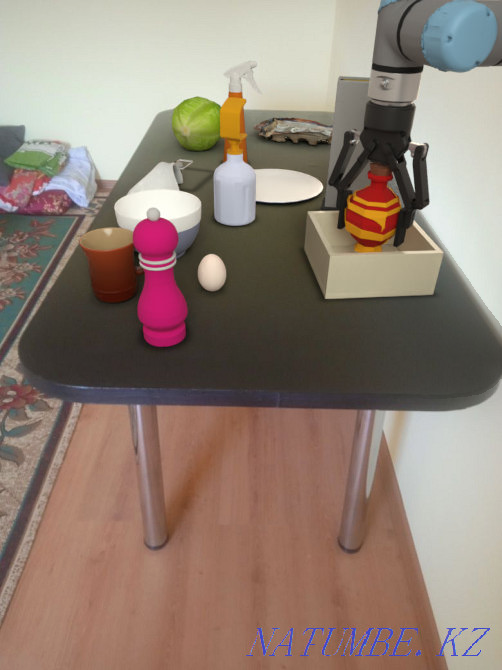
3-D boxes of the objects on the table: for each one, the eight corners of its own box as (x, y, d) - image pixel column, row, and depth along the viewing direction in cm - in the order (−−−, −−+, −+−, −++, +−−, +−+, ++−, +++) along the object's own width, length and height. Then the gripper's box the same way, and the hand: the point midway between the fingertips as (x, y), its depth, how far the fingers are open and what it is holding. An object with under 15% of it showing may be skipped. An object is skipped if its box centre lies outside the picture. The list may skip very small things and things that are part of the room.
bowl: (120, 273, 93) (113, 223, 88) (120, 236, 106) (114, 191, 100) (208, 266, 96) (206, 217, 90) (198, 231, 108) (196, 187, 103)
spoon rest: (173, 222, 112) (171, 190, 108) (121, 218, 114) (116, 187, 109) (196, 184, 131) (194, 156, 127) (151, 182, 133) (148, 153, 128)
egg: (232, 290, 89) (232, 255, 85) (210, 300, 86) (209, 264, 82) (214, 280, 92) (213, 245, 88) (192, 289, 89) (190, 254, 85)
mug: (92, 312, 82) (81, 253, 77) (86, 286, 89) (76, 230, 83) (166, 299, 86) (161, 243, 80) (155, 275, 93) (150, 222, 87)
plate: (210, 178, 136) (210, 174, 136) (294, 168, 145) (295, 164, 144) (247, 212, 118) (247, 207, 117) (341, 198, 126) (342, 193, 125)
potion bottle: (404, 245, 94) (422, 163, 86) (385, 267, 87) (401, 180, 79) (351, 232, 99) (363, 152, 90) (328, 251, 92) (338, 167, 83)
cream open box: (433, 294, 89) (443, 252, 84) (325, 299, 87) (330, 256, 82) (396, 246, 104) (403, 209, 100) (304, 249, 102) (307, 211, 98)
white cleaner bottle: (260, 214, 117) (264, 97, 103) (246, 229, 110) (248, 105, 96) (224, 208, 119) (222, 93, 105) (208, 223, 112) (204, 101, 98)
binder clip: (183, 183, 133) (182, 162, 130) (169, 181, 134) (168, 160, 131) (193, 175, 138) (192, 155, 135) (179, 174, 139) (178, 153, 136)
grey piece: (245, 142, 165) (246, 125, 162) (262, 127, 182) (262, 110, 179) (339, 151, 159) (341, 133, 156) (347, 134, 176) (349, 117, 173)
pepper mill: (136, 326, 79) (119, 201, 68) (182, 318, 81) (173, 195, 70) (145, 353, 74) (129, 222, 62) (194, 343, 76) (187, 214, 64)
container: (323, 217, 122) (311, 79, 106) (404, 211, 118) (405, 65, 101) (321, 230, 116) (308, 85, 100) (406, 224, 112) (408, 71, 95)
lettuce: (215, 157, 148) (165, 159, 153) (238, 138, 166) (193, 140, 171) (207, 103, 140) (155, 107, 145) (232, 88, 158) (185, 92, 163)
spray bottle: (255, 169, 143) (258, 63, 128) (219, 165, 146) (217, 60, 131) (263, 162, 149) (266, 59, 134) (227, 158, 151) (227, 57, 136)
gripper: (315, 93, 82) (304, 224, 95) (455, 117, 71) (421, 262, 83) (339, 87, 87) (326, 212, 100) (474, 108, 75) (439, 246, 88)
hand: (369, 235), depth 92 cm, fingers closed on potion bottle, 10 cm apart
